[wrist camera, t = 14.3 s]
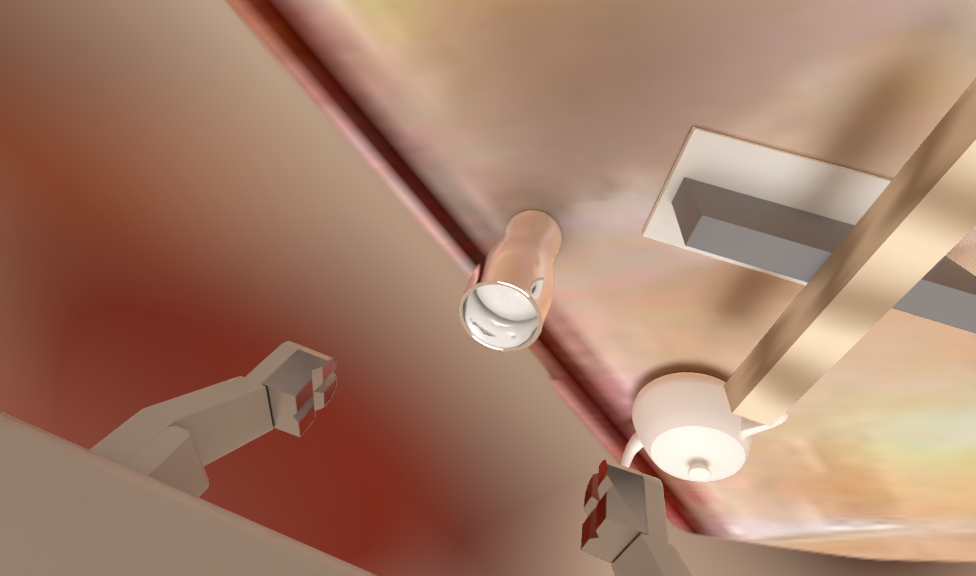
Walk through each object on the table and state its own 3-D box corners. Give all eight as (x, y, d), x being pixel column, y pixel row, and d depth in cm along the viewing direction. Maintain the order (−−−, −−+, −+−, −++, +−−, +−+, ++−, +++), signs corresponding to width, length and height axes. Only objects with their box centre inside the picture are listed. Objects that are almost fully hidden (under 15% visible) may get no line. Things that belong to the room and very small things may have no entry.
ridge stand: (692, 126, 33) (717, 155, 25) (978, 203, 30) (1110, 263, 22) (642, 231, 39) (648, 283, 30) (879, 303, 36) (955, 381, 28)
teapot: (640, 454, 55) (643, 528, 47) (583, 397, 52) (576, 465, 44) (799, 405, 44) (840, 490, 36) (737, 330, 41) (767, 403, 33)
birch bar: (982, 69, 20) (1034, 73, 17) (1049, 85, 19) (1111, 91, 17) (723, 385, 33) (731, 413, 31) (759, 397, 33) (771, 426, 31)
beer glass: (541, 192, 39) (507, 262, 27) (579, 247, 41) (563, 335, 29) (488, 227, 43) (437, 303, 31) (525, 276, 45) (491, 365, 33)
